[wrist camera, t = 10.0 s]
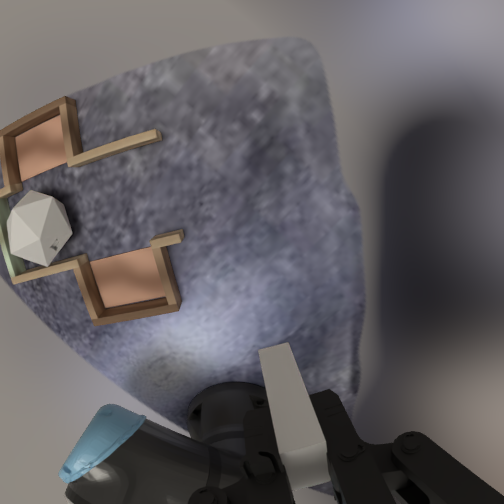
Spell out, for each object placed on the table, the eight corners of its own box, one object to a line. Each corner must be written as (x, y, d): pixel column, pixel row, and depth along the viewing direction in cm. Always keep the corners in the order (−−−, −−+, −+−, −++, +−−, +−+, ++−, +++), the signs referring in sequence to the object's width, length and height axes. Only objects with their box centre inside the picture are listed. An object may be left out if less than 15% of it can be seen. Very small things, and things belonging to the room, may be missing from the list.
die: (41, 260, 37) (48, 290, 30) (-3, 223, 31) (-10, 245, 24) (76, 214, 39) (90, 233, 32) (33, 173, 32) (35, 182, 26)
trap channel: (200, 297, 39) (198, 307, 36) (42, 326, 38) (33, 335, 35) (150, 73, 32) (144, 65, 29) (-6, 142, 31) (-18, 141, 28)
